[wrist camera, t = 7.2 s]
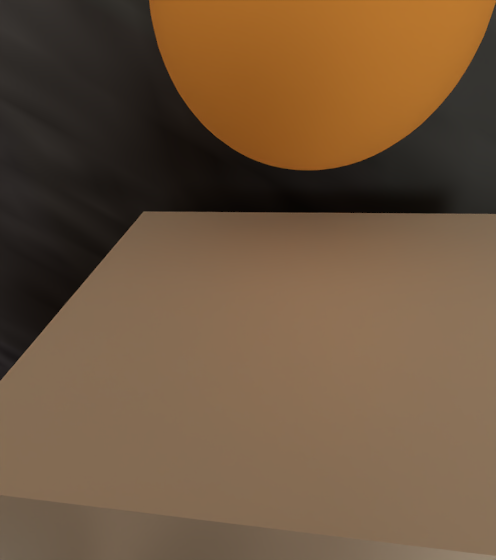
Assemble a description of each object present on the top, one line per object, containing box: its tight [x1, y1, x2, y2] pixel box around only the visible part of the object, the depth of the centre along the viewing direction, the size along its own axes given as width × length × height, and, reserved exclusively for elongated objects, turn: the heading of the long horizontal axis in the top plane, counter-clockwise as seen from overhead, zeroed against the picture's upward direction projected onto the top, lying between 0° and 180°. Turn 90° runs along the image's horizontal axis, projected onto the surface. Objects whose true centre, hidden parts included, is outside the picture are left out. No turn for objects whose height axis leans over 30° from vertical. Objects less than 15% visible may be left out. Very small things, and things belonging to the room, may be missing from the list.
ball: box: [149, 0, 496, 170], centre depth 6 cm, size 5×5×5 cm
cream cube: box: [0, 211, 496, 560], centre depth 8 cm, size 8×8×7 cm
